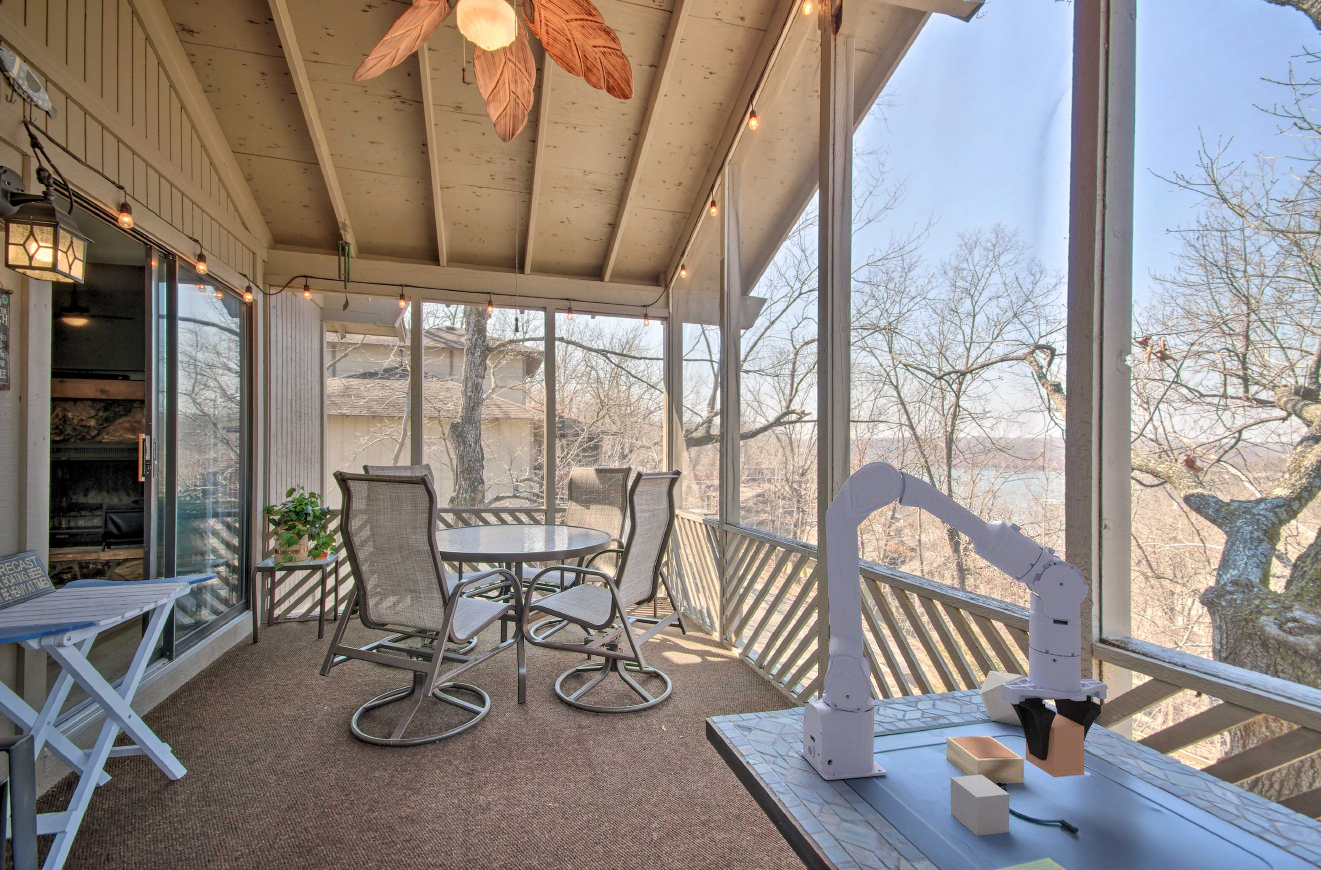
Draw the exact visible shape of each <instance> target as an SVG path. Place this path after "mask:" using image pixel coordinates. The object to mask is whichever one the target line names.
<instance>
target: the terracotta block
mask: <svg viewBox="0 0 1321 870" xmlns="http://www.w3.org/2000/svg"><path fill="white" fill-rule="evenodd" d="M1025 761H1027V762H1029V763H1030V764H1032V765H1034V766H1035V767H1037V768H1039V769H1040V770H1042V771H1043V772H1045V773H1046V774H1049V775H1050V776H1051V777H1053V778H1060V777H1061V778H1062V777H1071V776H1073V777H1074V776H1084V775H1085V741H1084V726H1082V725H1080V724H1078V723H1076V722H1074V721H1071V720H1069V719H1067V718H1065V717H1063V716H1061V715H1059V714H1058V713H1057V714H1056V716H1055V718H1054V720H1053V723H1052V725H1051V729H1050V734H1049V747H1048V755H1047V759H1046V760H1044V761H1042V760H1040V759H1038V758H1036V757H1035V756H1033V755H1031V754H1030V753H1029V749H1028V745H1027V741H1026V740H1025Z"/></svg>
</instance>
